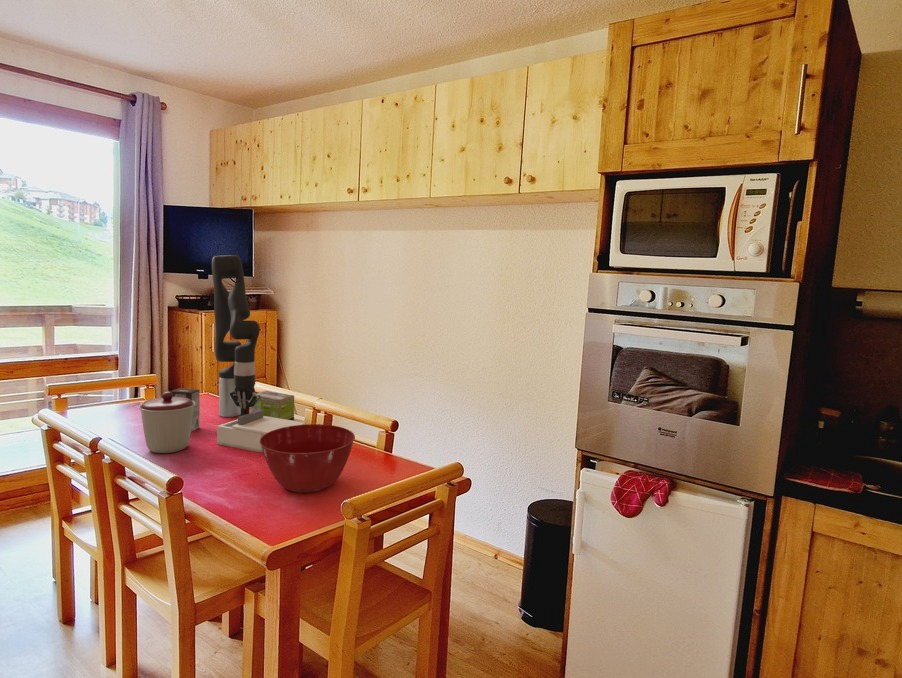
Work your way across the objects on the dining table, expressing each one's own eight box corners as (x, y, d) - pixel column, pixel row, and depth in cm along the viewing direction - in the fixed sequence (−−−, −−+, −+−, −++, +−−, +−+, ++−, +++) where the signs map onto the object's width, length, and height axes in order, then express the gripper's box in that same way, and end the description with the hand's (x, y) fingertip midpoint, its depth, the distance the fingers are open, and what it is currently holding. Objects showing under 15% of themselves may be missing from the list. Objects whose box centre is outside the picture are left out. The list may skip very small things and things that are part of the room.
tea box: (249, 429, 224) (249, 394, 222) (266, 423, 233) (266, 389, 231) (278, 435, 218) (278, 399, 216) (294, 429, 228) (295, 394, 226)
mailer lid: (231, 428, 201) (231, 418, 200) (261, 417, 216) (261, 408, 216) (277, 436, 194) (277, 425, 193) (305, 424, 209) (305, 415, 208)
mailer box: (217, 444, 204) (217, 426, 203) (247, 433, 219) (247, 416, 218) (260, 452, 197) (260, 433, 196) (288, 440, 212) (288, 422, 211)
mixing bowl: (294, 513, 151) (294, 459, 149) (241, 483, 169) (241, 435, 167) (372, 485, 172) (373, 438, 170) (317, 462, 190) (318, 419, 188)
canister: (206, 447, 201) (206, 391, 198) (160, 461, 185) (159, 400, 182) (175, 438, 209) (174, 384, 206) (128, 450, 193) (126, 392, 190)
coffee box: (170, 430, 218) (169, 391, 216) (179, 425, 225) (178, 387, 223) (191, 431, 218) (191, 392, 216) (200, 427, 224) (200, 389, 222)
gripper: (265, 373, 207) (265, 417, 209) (238, 369, 212) (238, 413, 214) (252, 376, 200) (252, 422, 202) (223, 372, 205) (223, 417, 207)
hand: (244, 417), depth 208 cm, fingers closed
